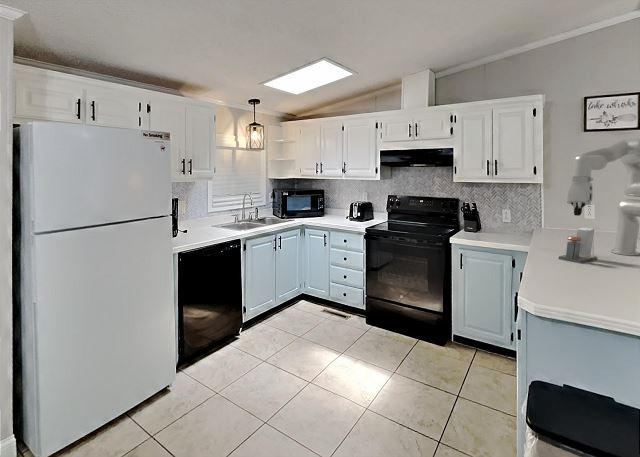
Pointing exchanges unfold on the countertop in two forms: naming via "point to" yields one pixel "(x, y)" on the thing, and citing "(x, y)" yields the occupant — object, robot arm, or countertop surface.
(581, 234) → the skincare box
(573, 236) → the plunger
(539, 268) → the countertop surface
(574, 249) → the press base
